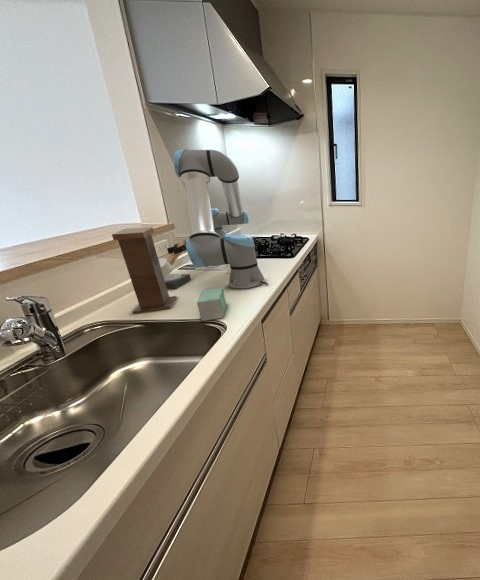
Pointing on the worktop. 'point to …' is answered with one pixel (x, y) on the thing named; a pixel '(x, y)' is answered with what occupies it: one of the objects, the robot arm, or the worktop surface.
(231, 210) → the robot arm
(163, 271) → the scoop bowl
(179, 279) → the kitchen scale
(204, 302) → the box
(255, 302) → the worktop surface
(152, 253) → the shelf stand
